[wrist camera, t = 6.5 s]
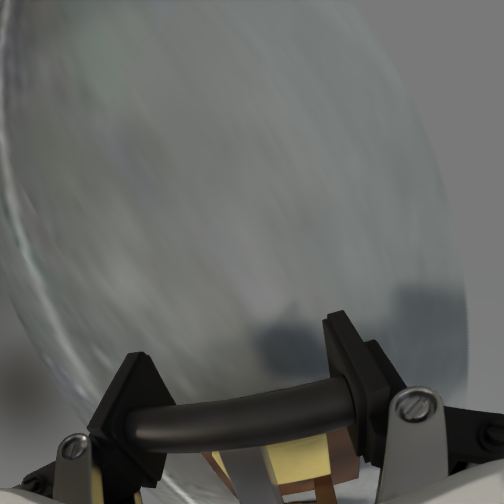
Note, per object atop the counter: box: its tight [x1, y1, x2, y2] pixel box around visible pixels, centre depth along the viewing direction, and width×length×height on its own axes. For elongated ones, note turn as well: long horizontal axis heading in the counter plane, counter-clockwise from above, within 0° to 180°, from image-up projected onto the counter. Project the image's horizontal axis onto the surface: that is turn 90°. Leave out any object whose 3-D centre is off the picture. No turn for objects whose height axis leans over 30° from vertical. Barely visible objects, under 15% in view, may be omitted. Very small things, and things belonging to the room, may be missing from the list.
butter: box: [212, 433, 331, 484], centre depth 12 cm, size 4×5×3 cm
